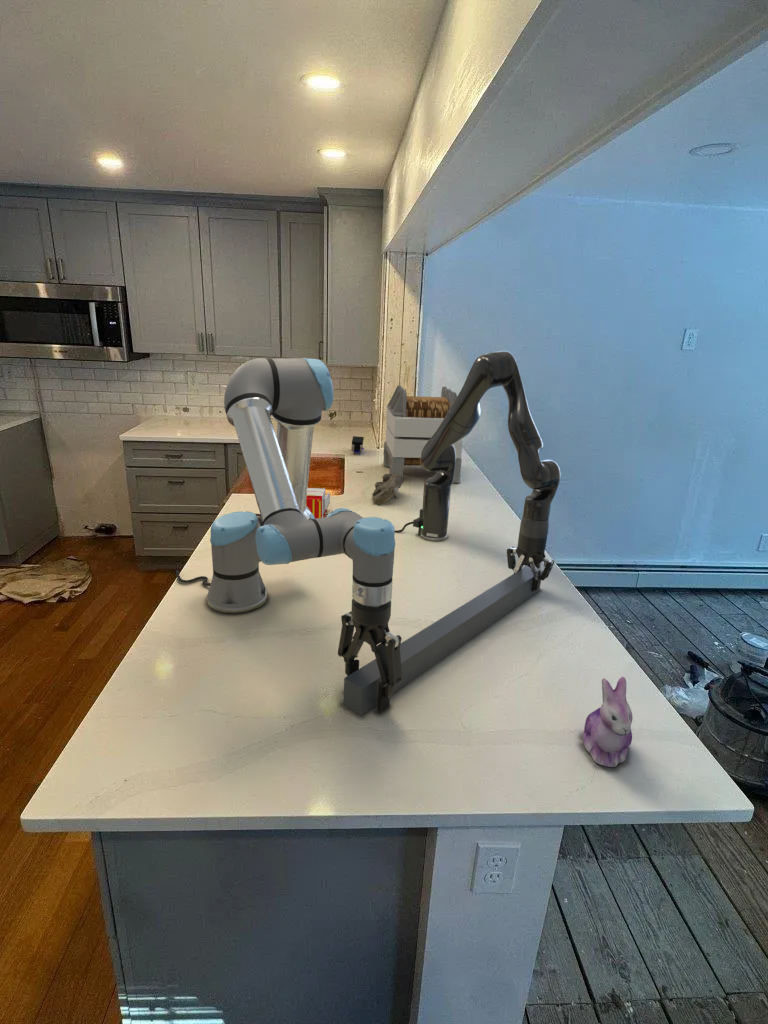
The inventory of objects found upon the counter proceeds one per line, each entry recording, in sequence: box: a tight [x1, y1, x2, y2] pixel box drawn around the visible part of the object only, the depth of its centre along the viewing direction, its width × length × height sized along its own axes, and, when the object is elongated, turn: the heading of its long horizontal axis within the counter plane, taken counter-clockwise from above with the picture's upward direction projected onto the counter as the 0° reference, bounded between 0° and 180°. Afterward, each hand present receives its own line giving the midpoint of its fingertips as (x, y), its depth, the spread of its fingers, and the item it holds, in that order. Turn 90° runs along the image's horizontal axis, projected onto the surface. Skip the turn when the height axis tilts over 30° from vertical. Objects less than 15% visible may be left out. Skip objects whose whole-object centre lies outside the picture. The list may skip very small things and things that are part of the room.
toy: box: [306, 487, 331, 519], centre depth 207 cm, size 12×13×30 cm
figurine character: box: [350, 435, 364, 455], centre depth 308 cm, size 7×8×15 cm
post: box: [343, 566, 543, 716], centre depth 137 cm, size 75×5×6 cm, turn 139°
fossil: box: [371, 472, 404, 505], centre depth 236 cm, size 22×10×15 cm
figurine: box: [582, 676, 633, 768], centre depth 102 cm, size 9×10×15 cm
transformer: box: [383, 384, 464, 484], centre depth 268 cm, size 34×33×41 cm
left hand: (367, 698), depth 115 cm, fingers open, 8 cm apart
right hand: (525, 587), depth 161 cm, fingers closed on post, 5 cm apart
